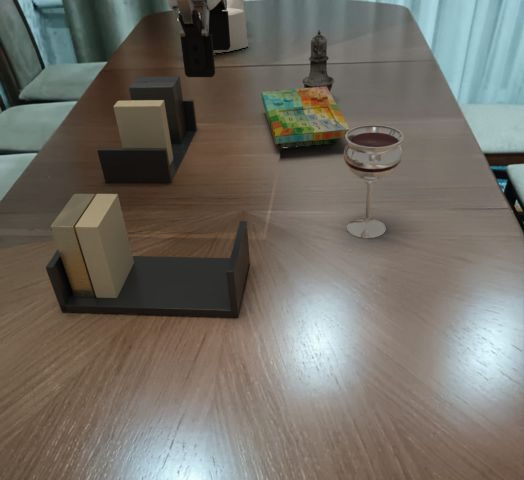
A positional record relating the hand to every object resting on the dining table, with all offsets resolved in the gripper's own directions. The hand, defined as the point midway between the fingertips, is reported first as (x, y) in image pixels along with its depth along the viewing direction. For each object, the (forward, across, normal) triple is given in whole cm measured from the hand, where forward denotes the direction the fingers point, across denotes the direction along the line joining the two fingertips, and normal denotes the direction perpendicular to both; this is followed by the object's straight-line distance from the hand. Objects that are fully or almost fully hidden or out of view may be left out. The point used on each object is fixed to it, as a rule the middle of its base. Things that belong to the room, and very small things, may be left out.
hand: (209, 62), depth 65 cm
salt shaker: (+20, -43, +10) cm, 49 cm away
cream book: (+18, -14, -14) cm, 27 cm away
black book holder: (+20, +17, -5) cm, 26 cm away
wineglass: (+19, +2, +19) cm, 27 cm away
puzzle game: (+20, -28, +9) cm, 35 cm away
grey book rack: (+20, -17, -14) cm, 29 cm away
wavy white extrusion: (+20, -86, -17) cm, 90 cm away
